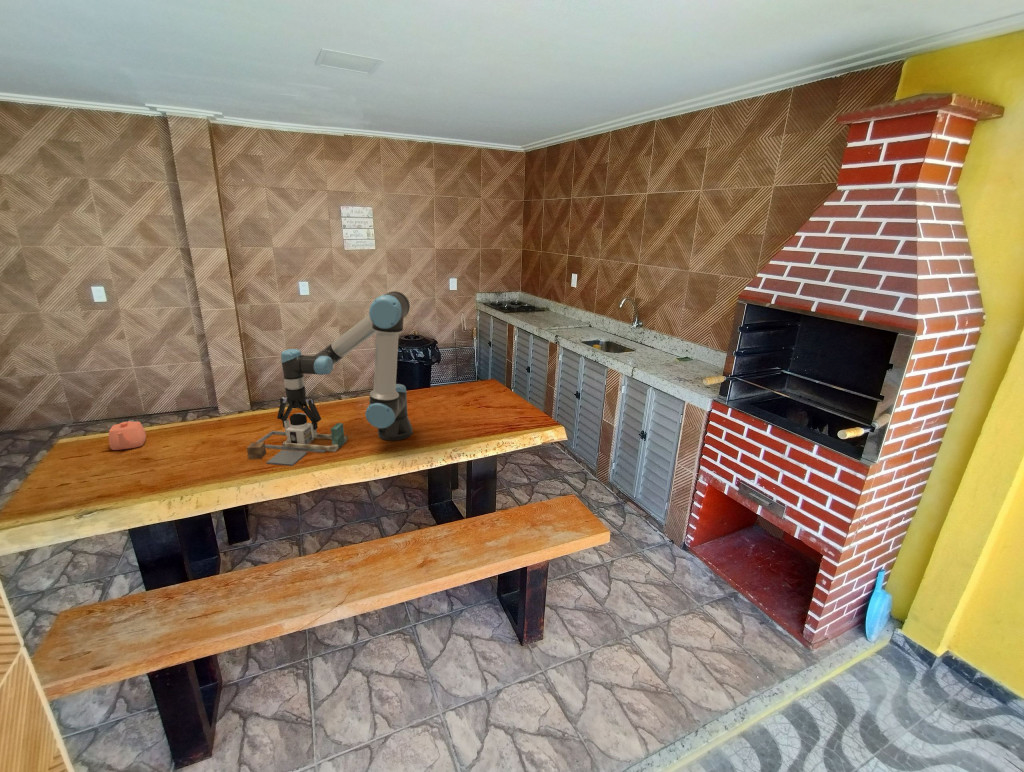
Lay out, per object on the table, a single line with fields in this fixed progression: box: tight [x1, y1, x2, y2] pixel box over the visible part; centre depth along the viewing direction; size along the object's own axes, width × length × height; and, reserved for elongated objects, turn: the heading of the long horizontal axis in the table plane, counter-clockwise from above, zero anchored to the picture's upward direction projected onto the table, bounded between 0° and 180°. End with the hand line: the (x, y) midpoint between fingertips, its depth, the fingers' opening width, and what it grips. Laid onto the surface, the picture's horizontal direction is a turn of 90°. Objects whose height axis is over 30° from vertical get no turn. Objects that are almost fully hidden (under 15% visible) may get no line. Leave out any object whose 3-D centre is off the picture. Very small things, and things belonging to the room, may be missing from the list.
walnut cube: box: [246, 441, 267, 460], centre depth 198 cm, size 5×5×5 cm
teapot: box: [108, 420, 147, 451], centre depth 203 cm, size 12×18×10 cm, turn 25°
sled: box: [281, 422, 349, 453], centre depth 208 cm, size 23×12×9 cm, turn 82°
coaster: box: [266, 449, 308, 467], centre depth 197 cm, size 11×11×1 cm
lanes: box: [255, 430, 326, 454], centre depth 211 cm, size 32×14×1 cm, turn 82°
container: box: [286, 412, 315, 445], centre depth 209 cm, size 8×8×13 cm
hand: (301, 435), depth 210 cm, fingers open, 11 cm apart
